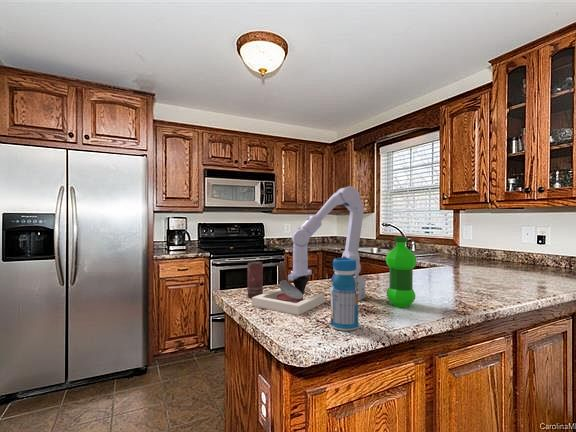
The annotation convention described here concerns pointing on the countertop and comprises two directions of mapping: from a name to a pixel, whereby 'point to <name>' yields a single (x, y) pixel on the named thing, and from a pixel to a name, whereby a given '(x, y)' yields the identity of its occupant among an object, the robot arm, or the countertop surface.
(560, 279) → the countertop surface
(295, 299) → the canned food
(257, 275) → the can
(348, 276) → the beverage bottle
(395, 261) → the plastic bottle
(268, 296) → the notched board
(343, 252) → the robot arm
